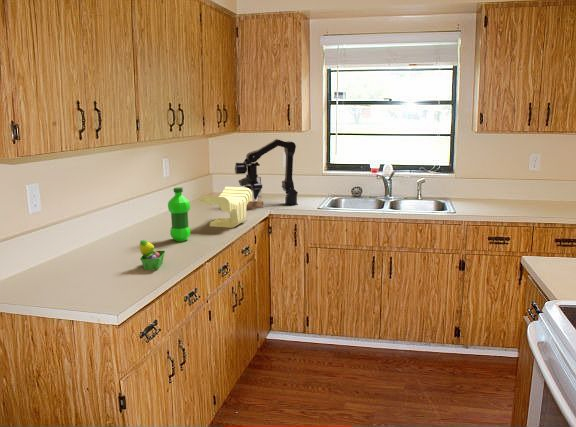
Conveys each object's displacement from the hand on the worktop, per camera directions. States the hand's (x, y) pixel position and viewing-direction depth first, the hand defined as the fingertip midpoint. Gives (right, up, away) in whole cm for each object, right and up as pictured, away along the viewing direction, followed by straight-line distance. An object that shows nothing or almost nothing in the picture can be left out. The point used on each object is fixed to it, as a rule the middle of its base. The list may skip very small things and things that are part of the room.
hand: (252, 198), depth 330 cm
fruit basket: (-33, -31, -117) cm, 125 cm away
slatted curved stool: (-10, -16, -45) cm, 48 cm away
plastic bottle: (-29, -22, -76) cm, 84 cm away
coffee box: (-1, -2, +20) cm, 20 cm away
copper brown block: (0, -5, +1) cm, 6 cm away
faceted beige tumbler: (0, -2, 0) cm, 2 cm away
